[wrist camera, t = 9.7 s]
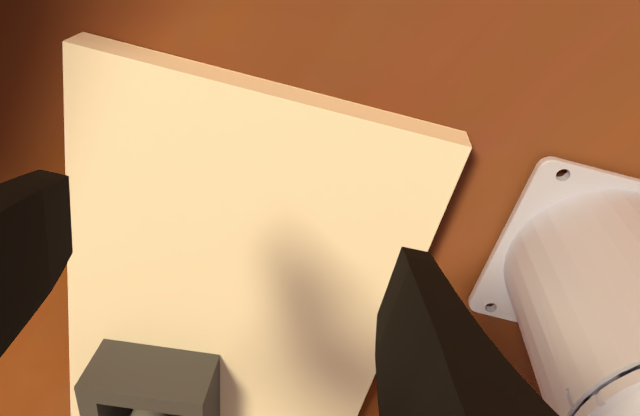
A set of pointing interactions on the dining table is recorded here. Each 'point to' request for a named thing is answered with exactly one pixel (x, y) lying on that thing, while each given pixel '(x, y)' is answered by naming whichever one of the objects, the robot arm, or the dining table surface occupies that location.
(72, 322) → the shelf board
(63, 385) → the dining table surface
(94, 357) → the grey square frame
